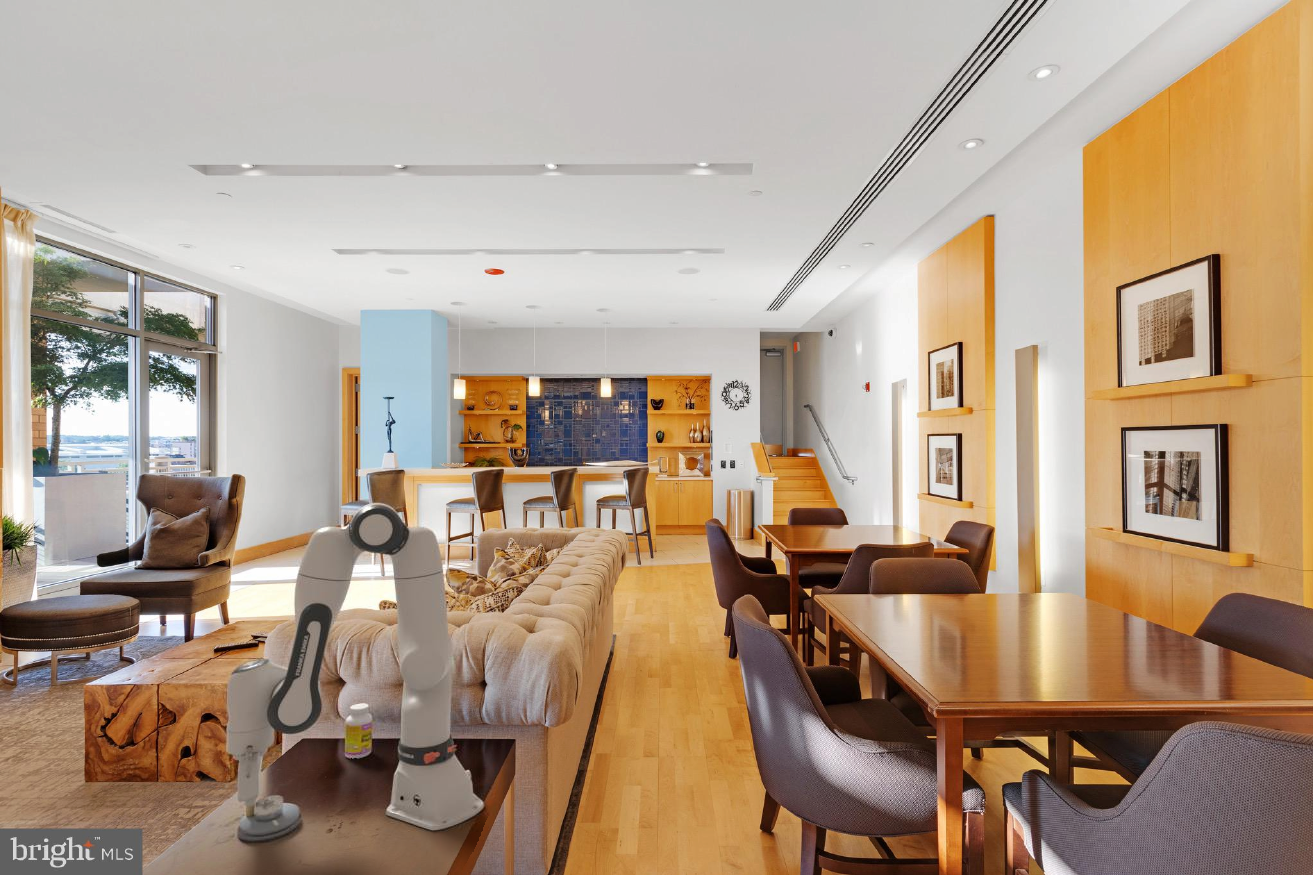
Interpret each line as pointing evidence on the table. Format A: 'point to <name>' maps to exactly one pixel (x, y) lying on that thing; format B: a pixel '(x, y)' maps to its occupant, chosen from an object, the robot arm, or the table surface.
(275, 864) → the table surface
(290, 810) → the turntable
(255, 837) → the turntable base
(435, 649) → the robot arm
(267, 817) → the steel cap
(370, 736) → the supplement bottle
